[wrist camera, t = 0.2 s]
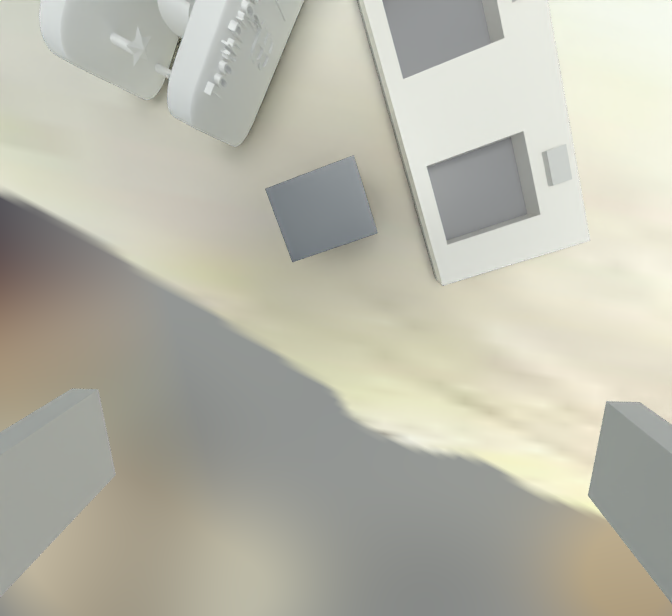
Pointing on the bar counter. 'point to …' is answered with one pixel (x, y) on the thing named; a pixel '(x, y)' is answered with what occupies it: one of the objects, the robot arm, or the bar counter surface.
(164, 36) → the cable organizer
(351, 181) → the plug
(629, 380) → the bar counter surface
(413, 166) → the socket plate
